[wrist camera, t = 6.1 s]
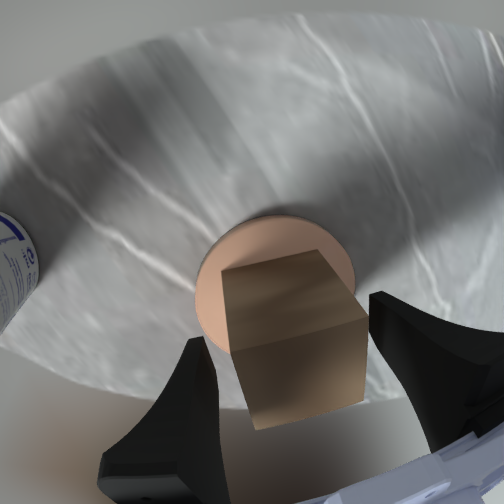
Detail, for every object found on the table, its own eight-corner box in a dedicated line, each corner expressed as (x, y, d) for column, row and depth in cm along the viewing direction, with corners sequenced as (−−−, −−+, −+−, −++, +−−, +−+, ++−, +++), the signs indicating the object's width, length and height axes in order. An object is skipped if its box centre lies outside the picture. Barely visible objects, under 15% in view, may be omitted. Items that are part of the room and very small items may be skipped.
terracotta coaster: (342, 199, 15) (350, 205, 14) (349, 329, 18) (355, 339, 17) (176, 236, 15) (174, 245, 14) (217, 362, 18) (218, 374, 17)
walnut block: (317, 248, 15) (368, 316, 10) (324, 325, 17) (363, 400, 12) (220, 271, 14) (229, 351, 10) (241, 345, 16) (255, 430, 11)
